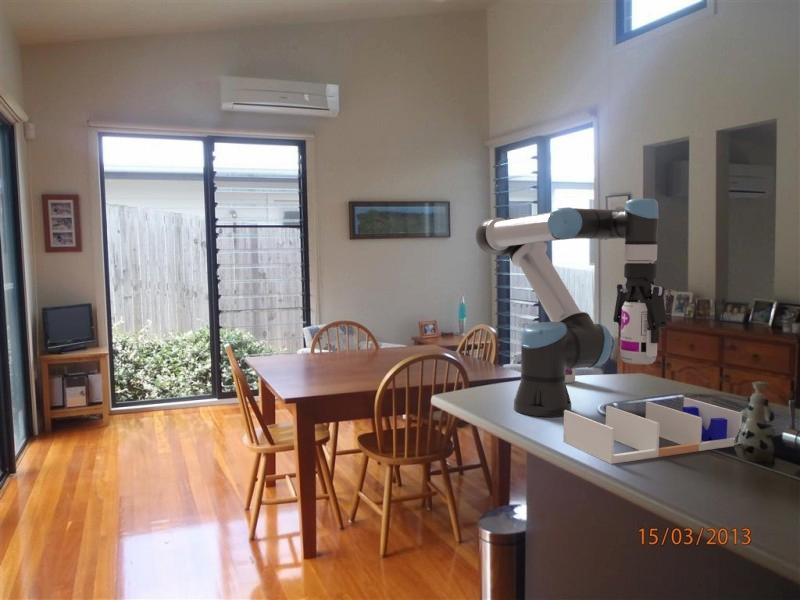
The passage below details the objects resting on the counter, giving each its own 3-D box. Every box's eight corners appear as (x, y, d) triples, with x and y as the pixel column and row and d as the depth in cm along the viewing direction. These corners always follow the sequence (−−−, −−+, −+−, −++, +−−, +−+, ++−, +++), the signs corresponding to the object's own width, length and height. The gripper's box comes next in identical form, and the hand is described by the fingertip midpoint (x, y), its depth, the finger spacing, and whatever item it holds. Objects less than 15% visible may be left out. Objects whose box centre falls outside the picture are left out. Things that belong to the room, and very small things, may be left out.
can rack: (610, 463, 129) (611, 428, 128) (563, 441, 144) (564, 410, 143) (740, 444, 141) (742, 413, 141) (684, 426, 156) (685, 397, 156)
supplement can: (621, 363, 156) (623, 302, 155) (619, 358, 164) (621, 300, 163) (657, 365, 154) (659, 303, 153) (653, 360, 162) (655, 301, 161)
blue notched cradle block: (676, 431, 152) (676, 407, 152) (693, 431, 153) (694, 406, 153) (707, 447, 141) (708, 420, 140) (726, 446, 141) (727, 419, 141)
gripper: (686, 262, 149) (682, 359, 151) (622, 261, 168) (620, 347, 170) (661, 263, 146) (658, 361, 148) (599, 261, 165) (597, 348, 167)
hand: (638, 353), depth 159 cm, fingers closed on supplement can, 8 cm apart
